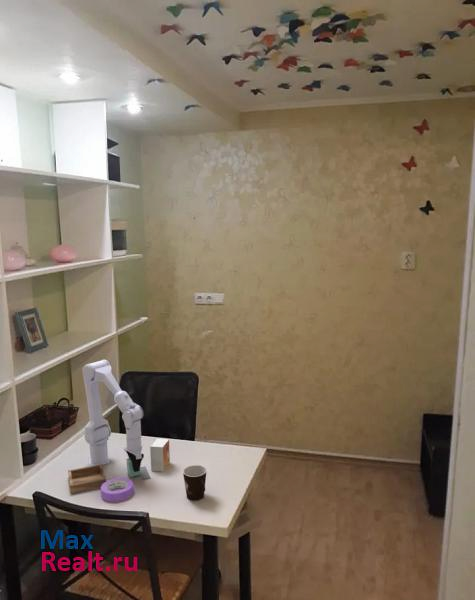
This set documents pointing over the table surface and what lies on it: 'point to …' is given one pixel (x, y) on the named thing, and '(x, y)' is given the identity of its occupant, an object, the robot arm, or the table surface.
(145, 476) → the mat
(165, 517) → the table surface
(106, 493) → the masking tape
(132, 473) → the block
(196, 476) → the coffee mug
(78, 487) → the wooden tray
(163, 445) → the small box
